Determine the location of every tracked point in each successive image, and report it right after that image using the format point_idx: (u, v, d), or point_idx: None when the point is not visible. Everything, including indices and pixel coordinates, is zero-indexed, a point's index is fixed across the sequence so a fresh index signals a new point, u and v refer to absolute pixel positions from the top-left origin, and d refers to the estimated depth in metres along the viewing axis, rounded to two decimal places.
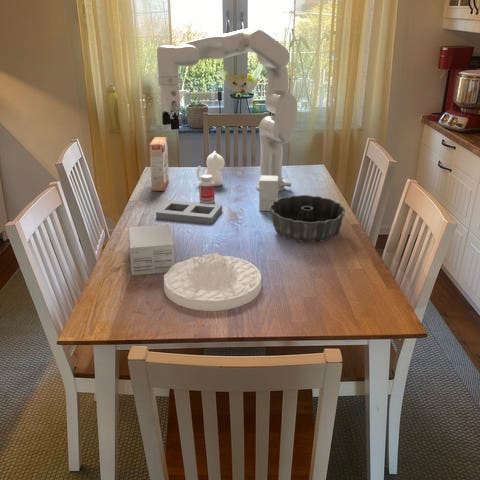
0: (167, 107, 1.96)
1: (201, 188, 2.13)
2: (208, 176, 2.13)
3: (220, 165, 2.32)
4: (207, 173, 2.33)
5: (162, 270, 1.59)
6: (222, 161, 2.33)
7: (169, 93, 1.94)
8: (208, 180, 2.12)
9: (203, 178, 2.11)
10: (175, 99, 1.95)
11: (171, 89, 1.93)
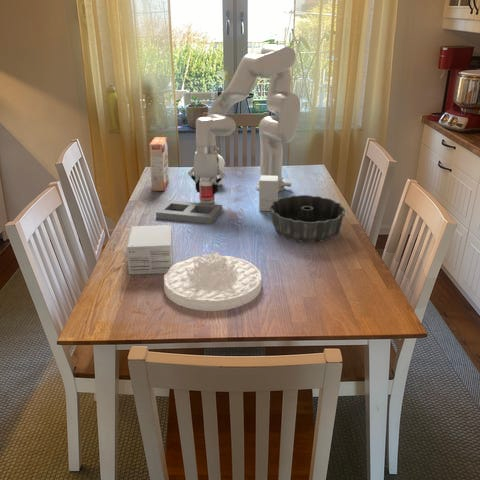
0: (213, 173, 2.10)
1: (201, 188, 2.13)
2: None
3: (220, 165, 2.32)
4: None
5: (159, 271, 1.58)
6: (222, 161, 2.33)
7: (216, 160, 2.08)
8: (208, 180, 2.12)
9: (203, 178, 2.11)
10: (219, 165, 2.11)
11: (216, 156, 2.08)
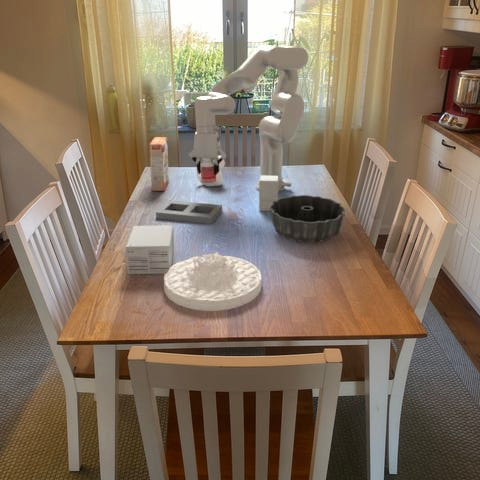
0: (213, 154, 2.07)
1: (202, 169, 2.10)
2: None
3: (220, 165, 2.32)
4: None
5: (157, 271, 1.58)
6: (222, 161, 2.33)
7: (216, 140, 2.05)
8: (209, 161, 2.09)
9: (204, 159, 2.09)
10: (219, 145, 2.08)
11: (216, 136, 2.05)
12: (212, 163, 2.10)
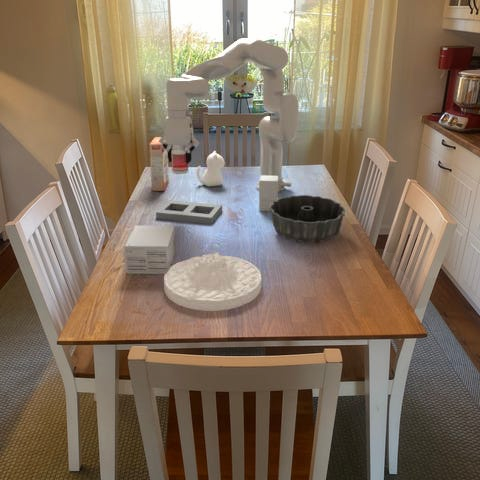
0: (185, 140, 1.93)
1: (173, 157, 1.96)
2: None
3: (220, 165, 2.32)
4: (207, 173, 2.33)
5: (155, 272, 1.58)
6: (222, 161, 2.33)
7: (188, 126, 1.91)
8: (181, 148, 1.95)
9: (175, 146, 1.94)
10: (192, 132, 1.94)
11: (189, 121, 1.91)
12: (184, 151, 1.96)
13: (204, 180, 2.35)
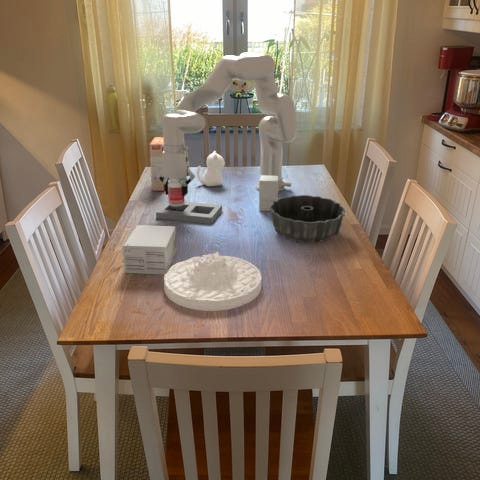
0: (181, 174, 1.96)
1: (169, 190, 1.99)
2: None
3: (220, 165, 2.32)
4: (207, 173, 2.33)
5: (154, 272, 1.58)
6: (222, 161, 2.33)
7: (184, 160, 1.94)
8: (177, 181, 1.98)
9: (171, 179, 1.97)
10: (188, 166, 1.97)
11: (185, 156, 1.94)
12: (180, 184, 1.98)
13: (204, 180, 2.35)
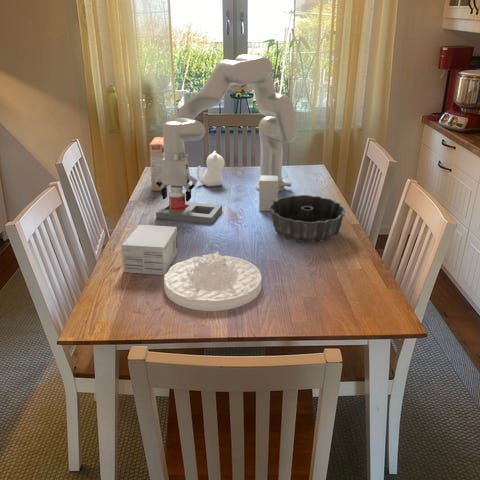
0: (182, 181, 1.97)
1: (171, 199, 2.00)
2: (178, 186, 2.00)
3: (220, 165, 2.32)
4: (207, 173, 2.33)
5: (152, 272, 1.58)
6: (222, 161, 2.33)
7: (185, 167, 1.95)
8: (178, 191, 1.99)
9: (173, 189, 1.99)
10: (188, 172, 1.98)
11: (185, 163, 1.95)
12: (181, 193, 2.00)
13: (204, 180, 2.35)
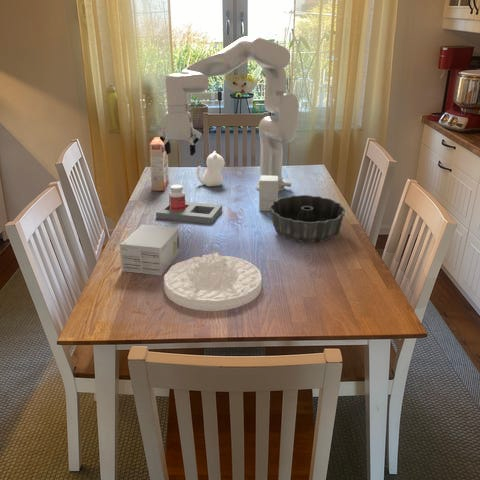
0: (186, 135, 1.96)
1: (171, 199, 2.00)
2: (178, 186, 2.00)
3: (220, 165, 2.32)
4: (207, 173, 2.33)
5: (149, 272, 1.58)
6: (222, 161, 2.33)
7: (188, 120, 1.94)
8: (178, 191, 1.99)
9: (173, 189, 1.99)
10: (191, 125, 1.96)
11: (189, 116, 1.94)
12: (181, 193, 2.00)
13: (204, 180, 2.35)
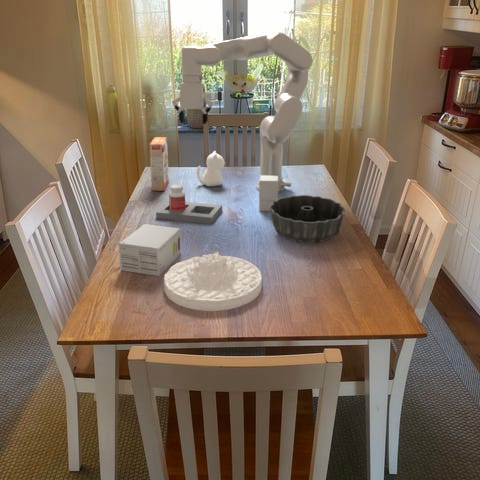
0: (199, 104, 2.09)
1: (171, 199, 2.00)
2: (178, 186, 2.00)
3: (220, 165, 2.32)
4: (207, 173, 2.33)
5: (147, 272, 1.58)
6: (222, 161, 2.33)
7: (202, 90, 2.07)
8: (178, 191, 1.99)
9: (173, 189, 1.99)
10: (205, 95, 2.10)
11: (202, 86, 2.08)
12: (181, 193, 2.00)
13: (204, 180, 2.35)
